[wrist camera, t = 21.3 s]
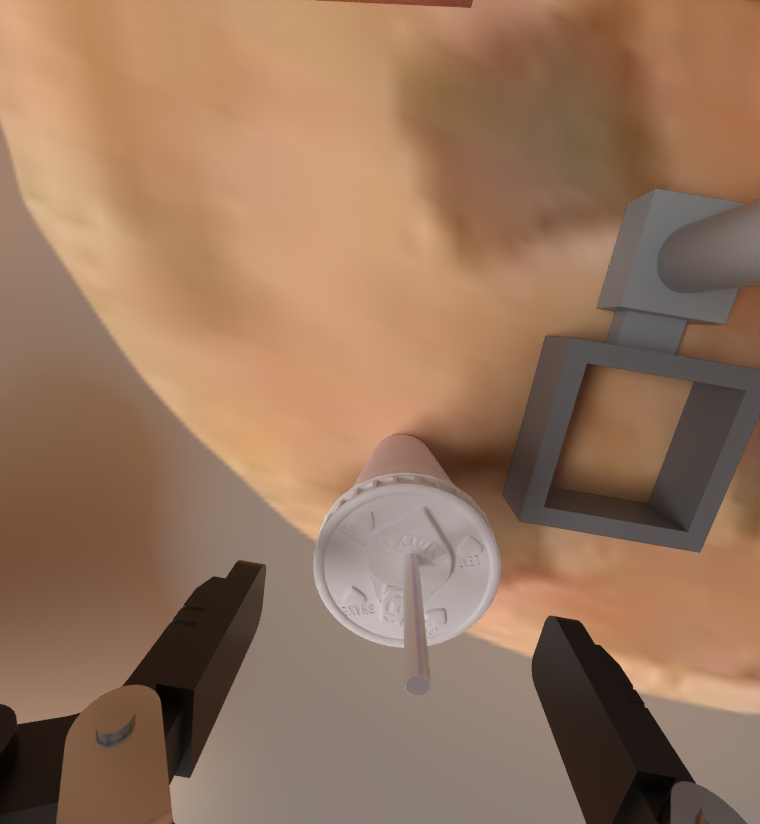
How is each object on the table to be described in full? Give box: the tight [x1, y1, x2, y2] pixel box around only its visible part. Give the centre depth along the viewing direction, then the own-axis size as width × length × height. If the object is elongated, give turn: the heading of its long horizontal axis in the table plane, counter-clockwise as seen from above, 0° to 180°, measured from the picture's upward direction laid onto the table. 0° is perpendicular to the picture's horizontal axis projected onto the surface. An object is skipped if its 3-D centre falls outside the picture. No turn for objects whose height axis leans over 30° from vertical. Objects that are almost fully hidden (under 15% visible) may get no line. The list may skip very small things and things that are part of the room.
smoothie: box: [313, 435, 501, 696], centre depth 15 cm, size 6×6×14 cm
